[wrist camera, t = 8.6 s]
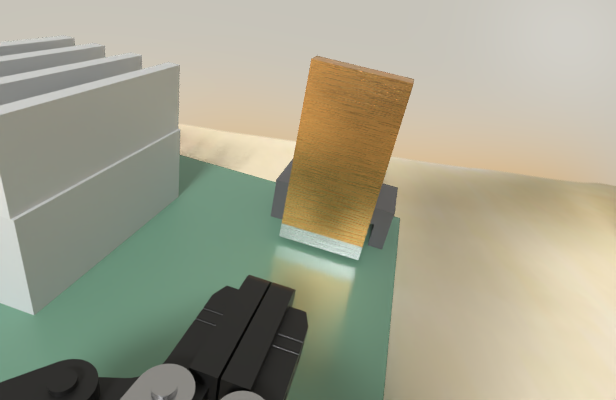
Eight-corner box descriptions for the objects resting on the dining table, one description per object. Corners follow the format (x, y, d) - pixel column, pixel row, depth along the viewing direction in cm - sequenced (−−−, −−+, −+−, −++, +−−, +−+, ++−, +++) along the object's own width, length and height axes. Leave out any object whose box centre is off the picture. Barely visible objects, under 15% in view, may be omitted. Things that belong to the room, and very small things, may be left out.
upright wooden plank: (358, 260, 25) (413, 83, 19) (279, 236, 25) (311, 58, 20) (369, 214, 30) (414, 65, 24) (303, 195, 30) (333, 46, 25)
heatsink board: (341, 686, 11) (508, 492, 6) (-303, 396, 14) (-580, 95, 9) (392, 238, 32) (439, 106, 27) (126, 160, 35) (120, 27, 30)
